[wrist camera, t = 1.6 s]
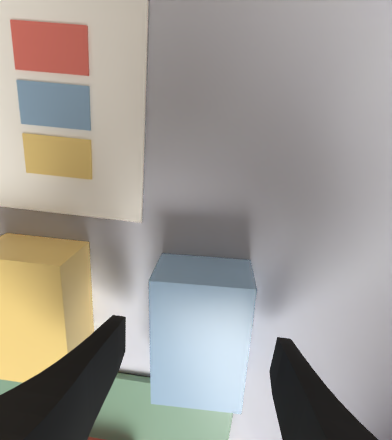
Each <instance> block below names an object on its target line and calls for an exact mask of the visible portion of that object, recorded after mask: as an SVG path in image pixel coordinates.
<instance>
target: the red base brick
mask: <svg viewBox="0 0 392 440" xmlns="http://www.w3.org/2000/svg"><path fill="white" fill-rule="evenodd" d="M88 440H105V439H99V438H93V437H88Z"/></svg>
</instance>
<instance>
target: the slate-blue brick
mask: <svg viewBox="0 0 392 440" xmlns="http://www.w3.org/2000/svg"><path fill="white" fill-rule="evenodd" d="M256 293H257V288H256V283H255V279H254V274H253V269H252V265H251V260H245V259H232V258H218V257H205V256H192V255H178V254H165V253H162V255H161V257H160V259H159V261H158V263H157V265H156V267H155V269H154V271H153V273H152V275H151V277H150V279H149V324H150V382H151V404H156V405H165V406H174V407H182V408H191V409H200V410H209V411H217V412H226V413H235V414H242V406H243V398H244V390H245V382H246V374H247V366H248V358H249V350H250V342H251V334H252V326H253V318H254V310H255V301H256Z"/></svg>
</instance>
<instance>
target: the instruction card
mask: <svg viewBox="0 0 392 440" xmlns="http://www.w3.org/2000/svg"><path fill="white" fill-rule="evenodd" d="M148 7H149V0H0V207H8V208H17V209H25V210H34V211H43V212H51V213H60V214H69V215H77V216H86V217H95V218H103V219H112V220H120V221H129V222H138V223H142V214H143V180H144V145H145V111H146V76H147V41H148Z"/></svg>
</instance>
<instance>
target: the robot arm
mask: <svg viewBox="0 0 392 440" xmlns="http://www.w3.org/2000/svg"><path fill="white" fill-rule="evenodd" d="M125 322H126V317H123V316H115V315H113V316H111V317H110V318H109V319H108V320H107V321H106V322H105V323H103V324H102V325H101V326H100V327H99V328H98V329H97V330H96V331H94V332H93V333H92V334H91V335H90V336H89V337H87V338H86V339H85V340H84V341H83V342H82V343H80V344H79V345H78V346H77V347H75V348H74V349H73V350H71V351H70V352H69V353H67V354H66V355H65V356H64V357H62V358H61V359H60V360H58V361H57V362H55V363H54V364H52V365H51V366H49V367H48V368H46V369H45V370H43V371H42V372H40V373H39V374H37V375H35V376H34V377H32V378H30V379H28V380H27V381H25V382H23V383H21V384H20V385H18V386H16V387H14V388H13V389H11V390H9V391H7V392H5V393H3V394H1V395H0V440H88V437H89V434H90V432H91V430H92V427H93V425H94V423H95V420H96V418H97V416H98V414H99V412H100V410H101V408H102V406H103V403H104V401H105V399H106V397H107V395H108V393H109V391H110V389H111V386H112V384H113V382H114V380H115V378H116V376H117V373H118V371H119V368H120V365H121V362H122V359H123V356H124V353H125ZM270 379H271V388H272V395H273V400H274V404H275V409H276V413H277V418H278V422H279V426H280V431H281V435H282V439H283V440H378V439H377V438H376V437H375V436H374V435H373V434H372V433H370V432H369V431H368V430H367V429H366V428H365V427H364V426H363V425H362V424H361V423H360V422H359V421H358V420H357V419H356V418H355V417H354V416H353V415H352V414H351V413H350V412H349V411H348V410H347V409H346V408H345V407H344V406H343V404H342V403H341V402H340V401H339V400H338V399H337V398H336V397H335V396H334V394H333V393H332V392H331V391H330V390H329V389H328V387H327V386H326V385H325V384H324V383H323V381H322V380H321V379H320V377H319V376H318V375H317V374H316V372H315V371H314V370H313V369H312V367H311V366H310V365H309V363H308V362H307V360H306V359H305V358H304V356H303V355H302V354H301V352H300V351H299V350H298V348H297V347H296V345H295V344H294V343H293V341H292V340H291V339H287V338H280V337H277V341H276V345H275V350H274V354H273V359H272V363H271V367H270Z"/></svg>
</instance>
